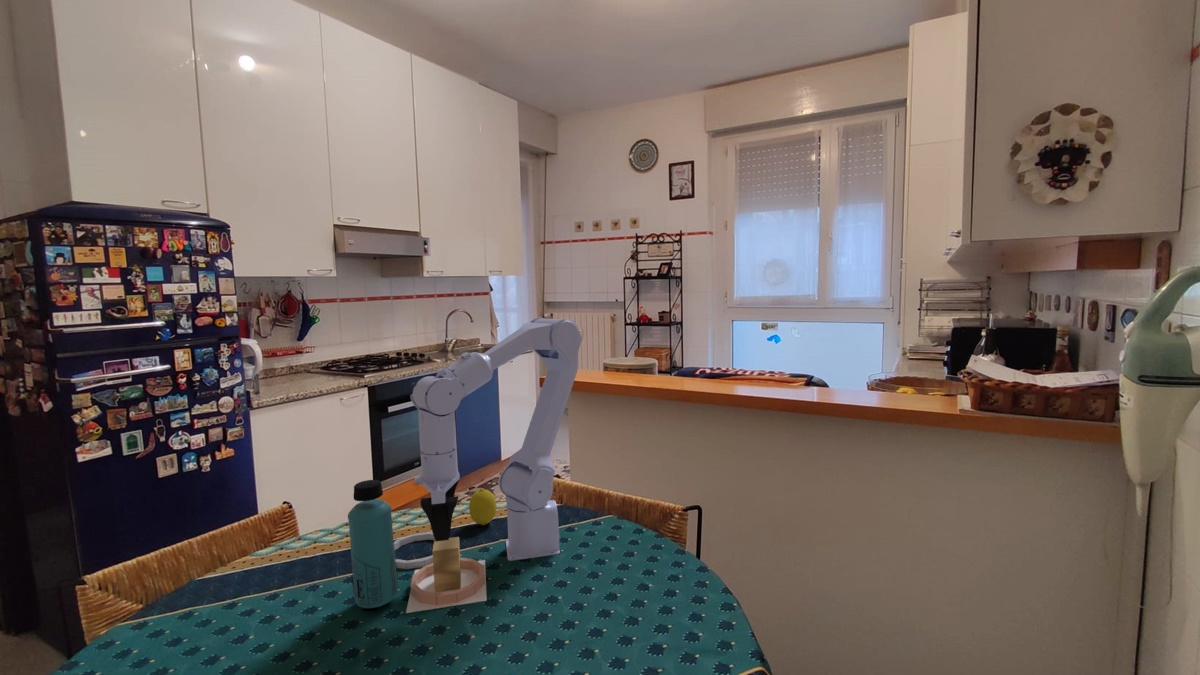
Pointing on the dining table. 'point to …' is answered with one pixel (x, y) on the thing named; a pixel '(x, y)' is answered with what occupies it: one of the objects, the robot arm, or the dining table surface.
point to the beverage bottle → (372, 547)
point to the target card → (429, 586)
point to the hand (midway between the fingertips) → (443, 529)
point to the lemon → (482, 506)
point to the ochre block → (447, 565)
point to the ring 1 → (418, 562)
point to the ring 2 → (452, 595)
